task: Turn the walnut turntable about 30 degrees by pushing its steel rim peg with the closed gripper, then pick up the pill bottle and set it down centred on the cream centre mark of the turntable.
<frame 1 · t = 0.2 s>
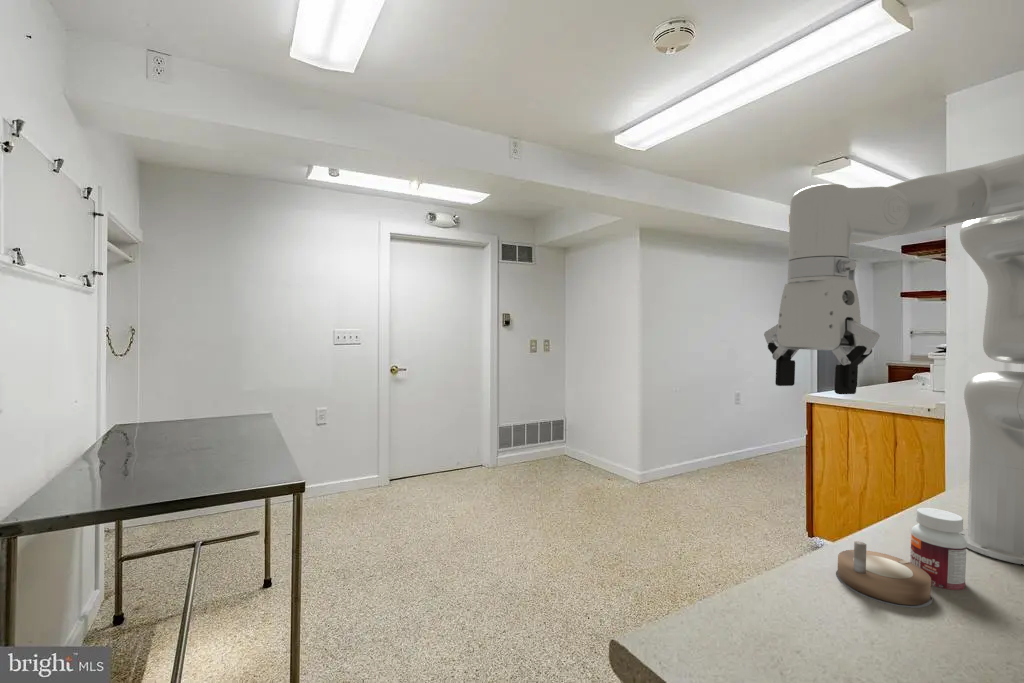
hand: (813, 389, 69), 30 cm above the countertop, tool pointing down, fingers open, 9 cm apart
turntable: (882, 561, 68), point 5 cm above the countertop, hinge at 0.0°
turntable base: (881, 595, 68), on the countertop
pill bottle: (936, 589, 70), on the countertop
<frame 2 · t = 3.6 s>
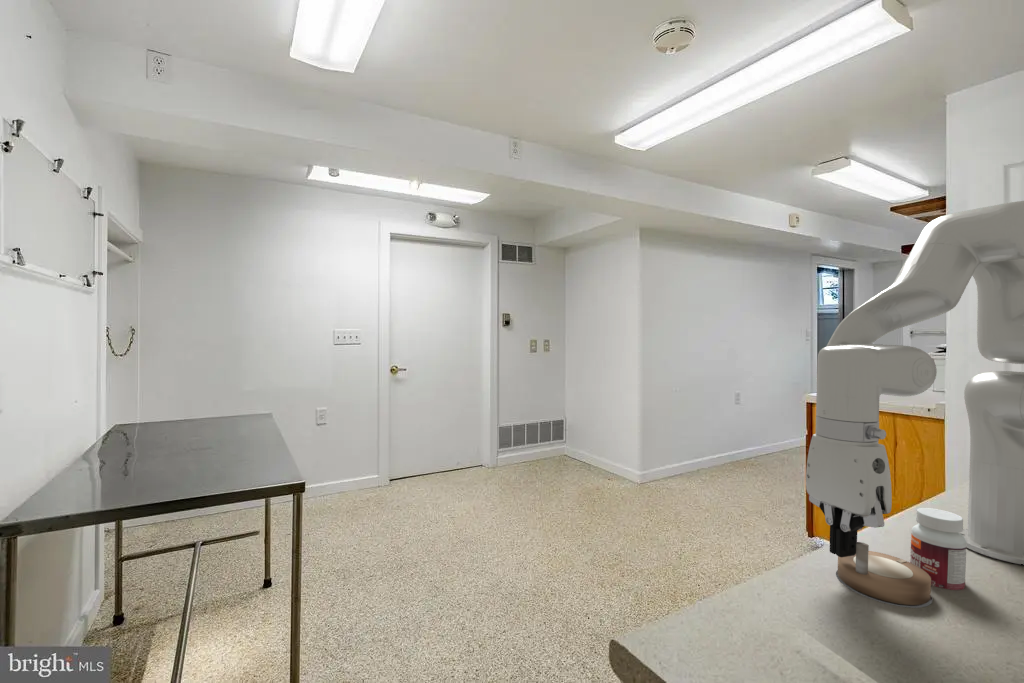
hand: (842, 553, 69), 6 cm above the countertop, tool pointing down, fingers closed
turntable: (882, 561, 68), point 5 cm above the countertop, hinge at 3.8°, touching gripper
everything else where it was.
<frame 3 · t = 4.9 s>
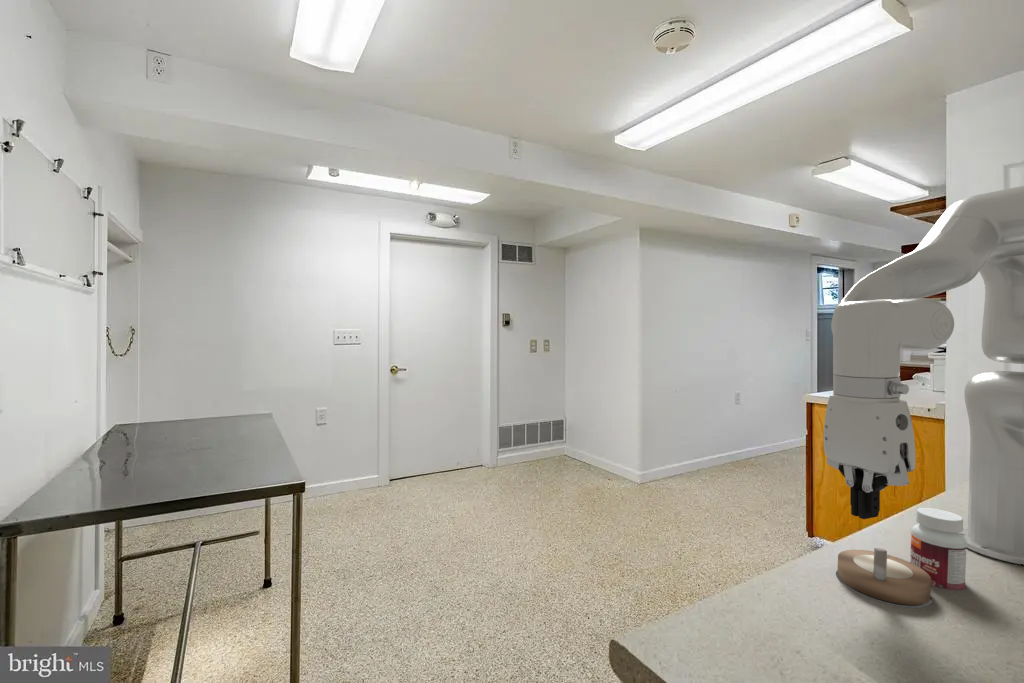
hand: (864, 515, 67), 12 cm above the countertop, tool pointing down, fingers closed
turntable: (882, 561, 68), point 5 cm above the countertop, hinge at 30.9°
everything else where it was.
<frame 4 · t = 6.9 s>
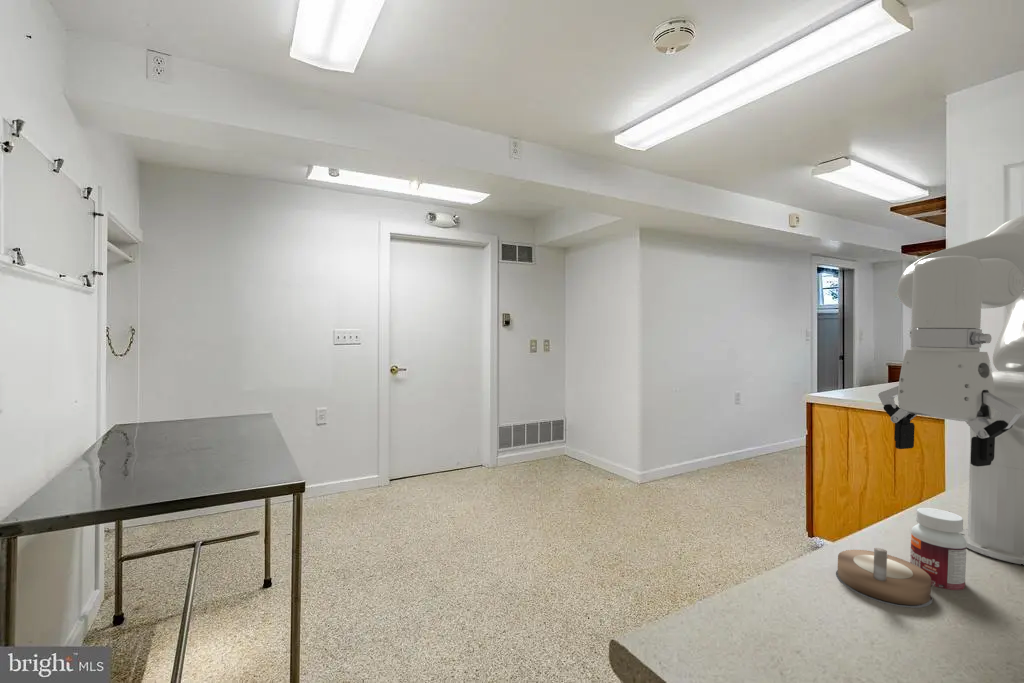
hand: (940, 456, 70), 20 cm above the countertop, tool pointing down, fingers open, 9 cm apart
nothing on the countertop moved.
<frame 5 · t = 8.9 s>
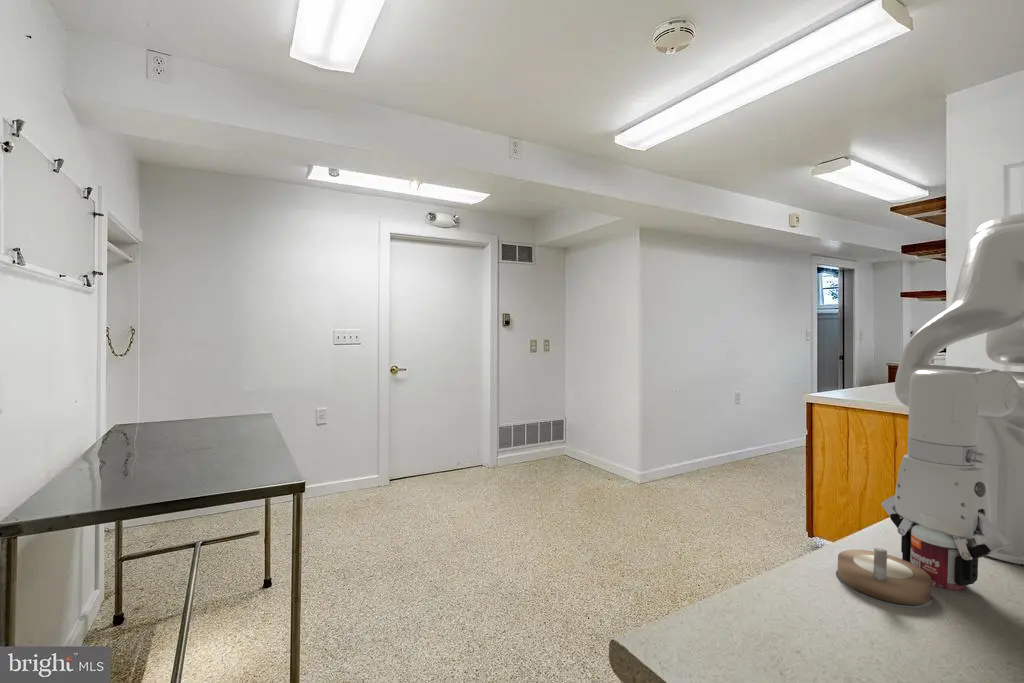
hand: (936, 570, 70), 3 cm above the countertop, tool pointing down, fingers closed on pill bottle, 6 cm apart
pill bottle: (936, 589, 70), on the countertop, touching gripper
everything else where it was.
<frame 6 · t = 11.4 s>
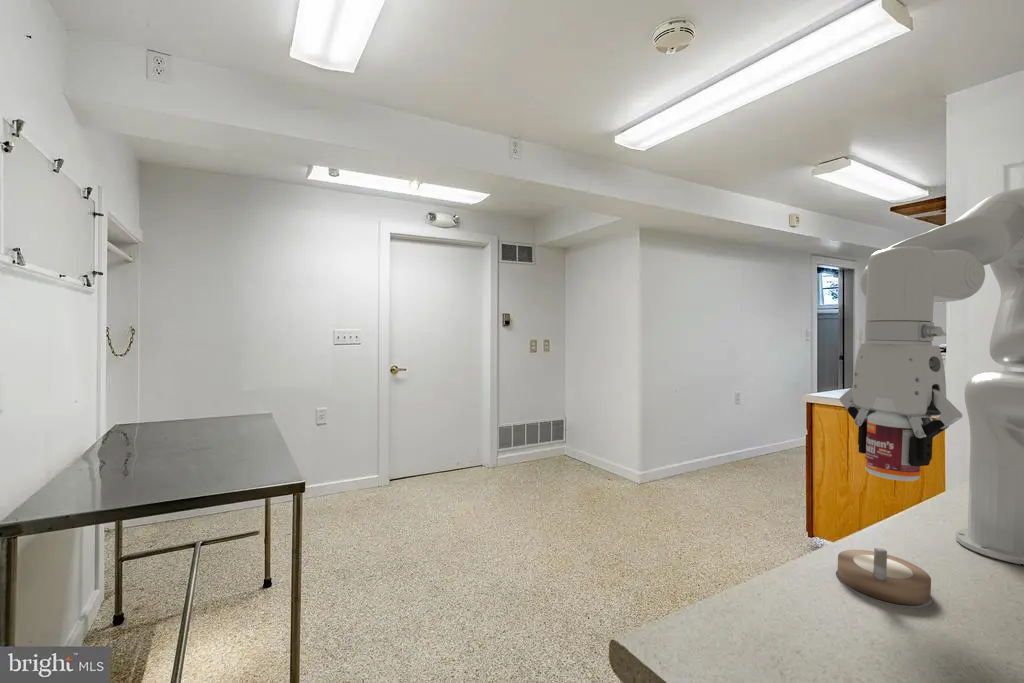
hand: (892, 457, 68), 20 cm above the countertop, tool pointing down, fingers closed on pill bottle, 6 cm apart
pill bottle: (891, 477, 68), point 17 cm above the countertop, touching gripper
everything else where it was.
when the fingers open (8 cm above the countertop, at t = 14.1 s): pill bottle drops 1 cm, resting on turntable.
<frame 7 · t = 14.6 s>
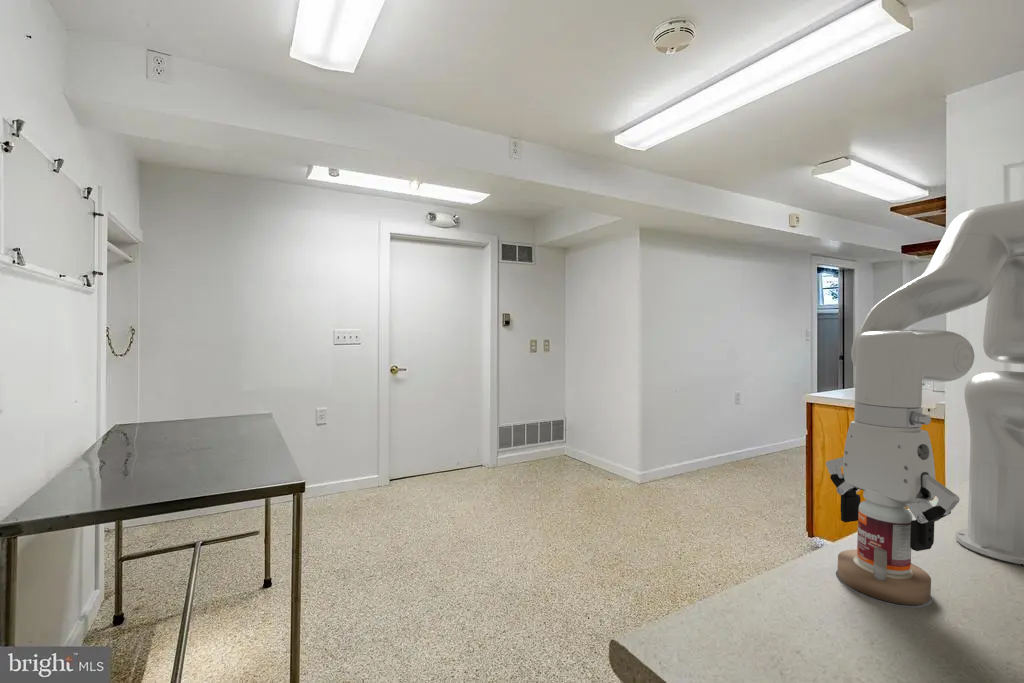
hand: (883, 534, 68), 9 cm above the countertop, tool pointing down, fingers open, 9 cm apart
turntable: (882, 561, 68), point 5 cm above the countertop, hinge at 30.9°, touching pill bottle
pill bottle: (883, 567, 68), point 4 cm above the countertop, touching turntable
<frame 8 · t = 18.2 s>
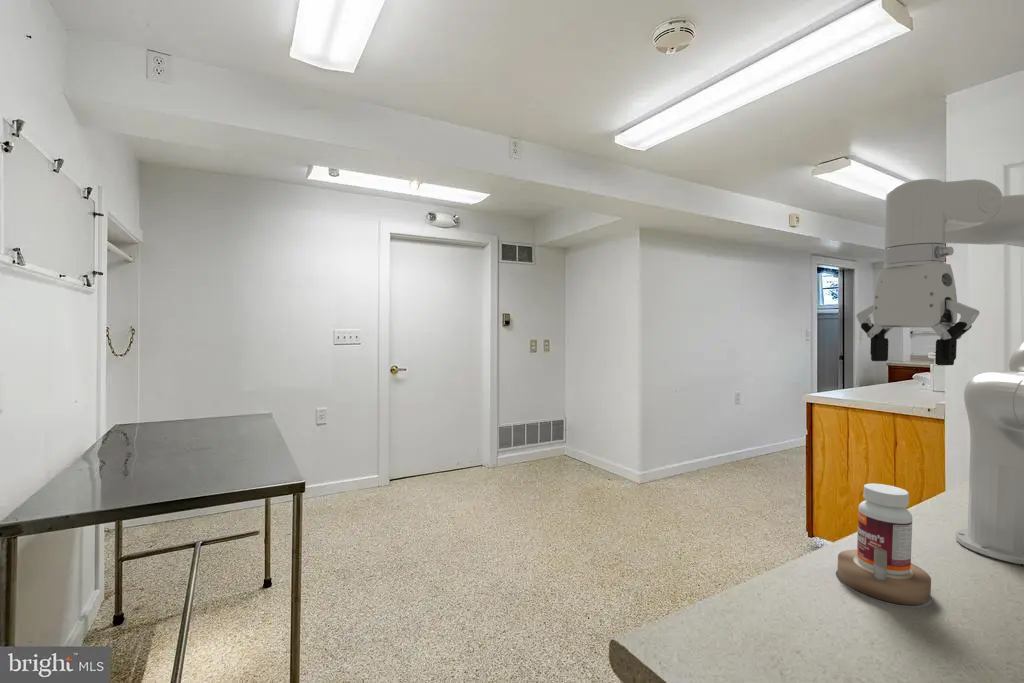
hand: (910, 362, 77), 33 cm above the countertop, tool pointing down, fingers open, 9 cm apart
nothing on the countertop moved.
at the end: turntable at +31° (first picture: +0°); pill bottle 0.2 cm off-centre on the turntable, point 2.6 cm above the turntable's base; pill bottle tilted 0° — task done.
